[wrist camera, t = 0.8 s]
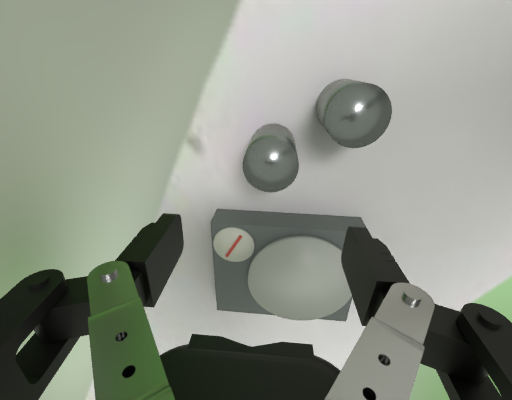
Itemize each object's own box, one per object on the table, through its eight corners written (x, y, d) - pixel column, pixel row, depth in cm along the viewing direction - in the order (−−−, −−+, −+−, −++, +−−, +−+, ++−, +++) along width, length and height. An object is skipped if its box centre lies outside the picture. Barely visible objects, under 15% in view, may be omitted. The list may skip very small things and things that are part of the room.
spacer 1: (297, 124, 25) (301, 140, 19) (293, 168, 27) (296, 193, 21) (251, 122, 25) (242, 137, 20) (250, 166, 27) (242, 190, 22)
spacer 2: (371, 79, 22) (399, 83, 17) (361, 131, 24) (383, 149, 19) (319, 78, 23) (331, 82, 17) (313, 129, 25) (322, 146, 19)
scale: (360, 217, 28) (372, 238, 25) (341, 301, 34) (347, 328, 31) (217, 208, 30) (208, 228, 26) (222, 291, 36) (215, 316, 32)
